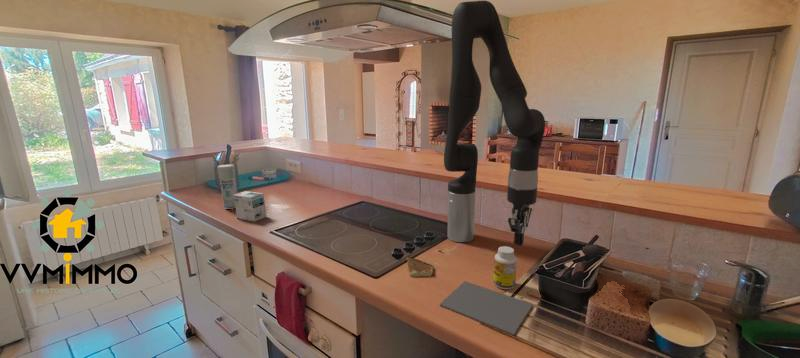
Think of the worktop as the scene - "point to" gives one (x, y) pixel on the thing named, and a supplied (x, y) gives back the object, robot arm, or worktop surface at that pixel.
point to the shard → (419, 267)
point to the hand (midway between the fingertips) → (518, 244)
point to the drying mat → (488, 307)
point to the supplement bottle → (505, 268)
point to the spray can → (227, 185)
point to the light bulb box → (250, 206)
